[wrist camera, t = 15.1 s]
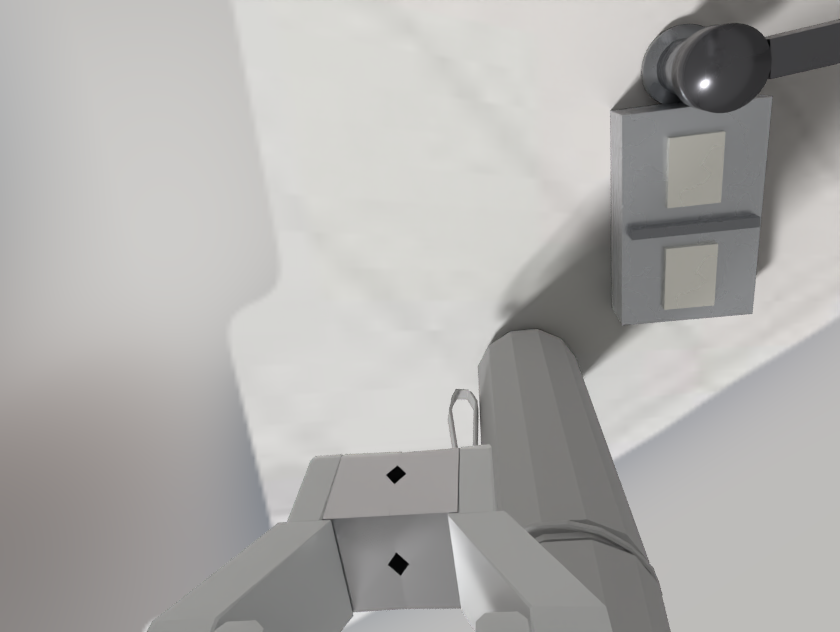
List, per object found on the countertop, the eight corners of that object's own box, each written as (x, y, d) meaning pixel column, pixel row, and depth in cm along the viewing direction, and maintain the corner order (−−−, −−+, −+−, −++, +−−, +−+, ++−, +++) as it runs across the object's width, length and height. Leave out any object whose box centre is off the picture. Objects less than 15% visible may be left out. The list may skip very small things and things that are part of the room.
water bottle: (588, 326, 42) (733, 648, 20) (564, 420, 46) (663, 790, 23) (459, 308, 43) (452, 607, 20) (443, 403, 46) (422, 754, 23)
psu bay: (610, 110, 37) (625, 116, 33) (749, 93, 36) (779, 97, 32) (611, 307, 42) (624, 330, 38) (733, 296, 41) (757, 318, 37)
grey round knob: (641, 30, 35) (665, 27, 31) (721, 19, 34) (756, 14, 30) (640, 110, 37) (663, 117, 32) (716, 100, 36) (749, 107, 32)
